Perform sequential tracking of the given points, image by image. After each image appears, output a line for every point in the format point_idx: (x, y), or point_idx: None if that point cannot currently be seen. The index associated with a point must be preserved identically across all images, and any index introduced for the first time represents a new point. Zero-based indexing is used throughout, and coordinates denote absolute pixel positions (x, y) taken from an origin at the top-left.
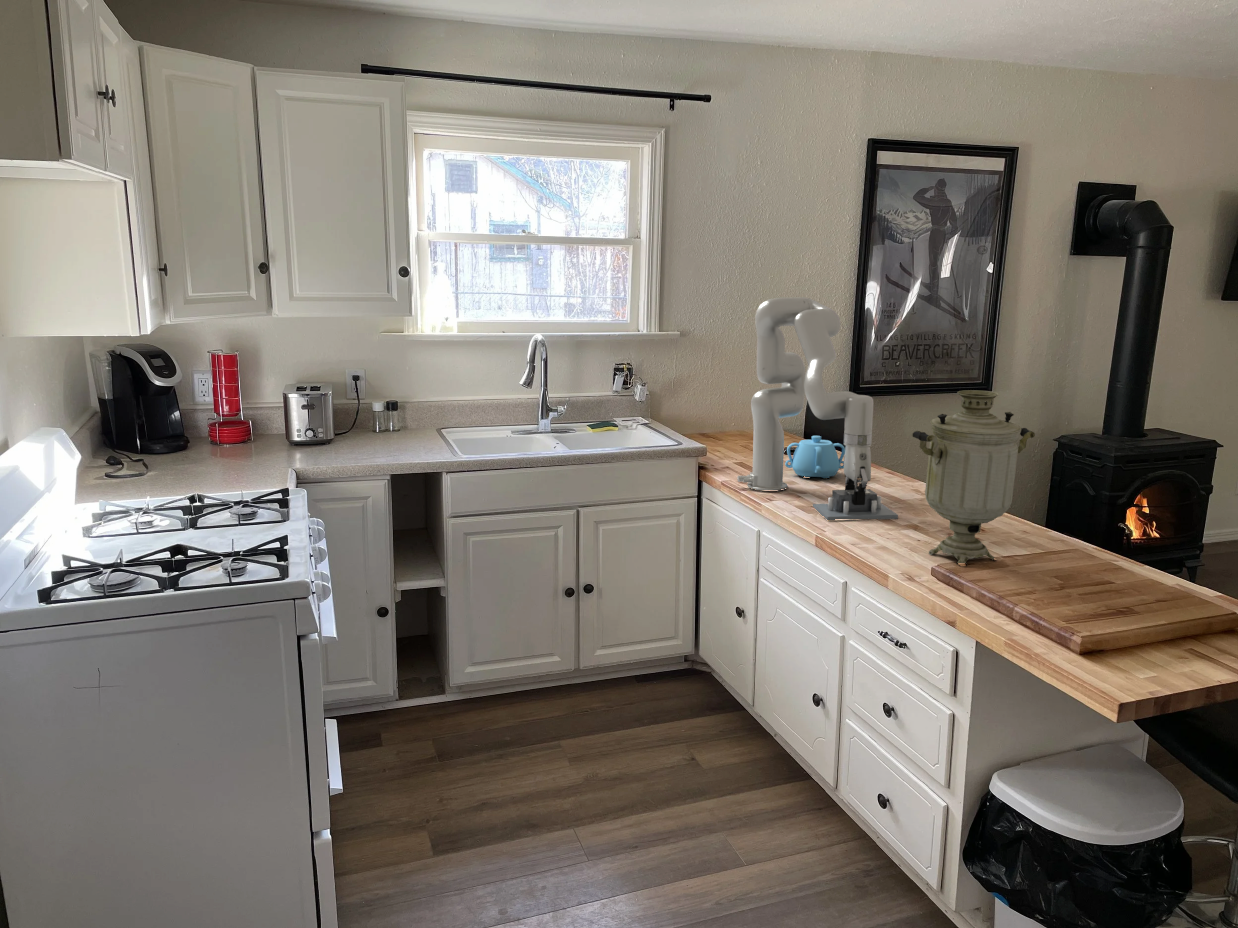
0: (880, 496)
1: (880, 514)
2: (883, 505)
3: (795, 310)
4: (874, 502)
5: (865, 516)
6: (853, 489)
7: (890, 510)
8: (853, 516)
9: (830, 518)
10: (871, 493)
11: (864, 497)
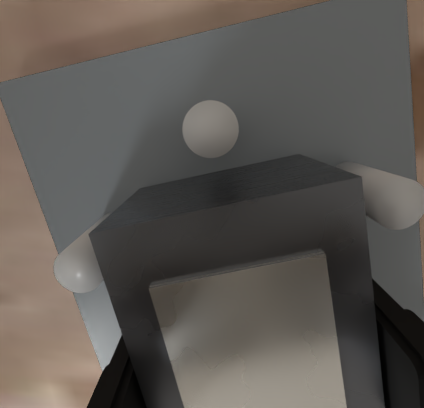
0: (199, 109)
1: (393, 135)
2: (104, 67)
3: None
4: (420, 203)
5: (415, 243)
6: (138, 403)
7: (265, 29)
8: (421, 318)
9: None
10: (322, 244)
11: (403, 315)
